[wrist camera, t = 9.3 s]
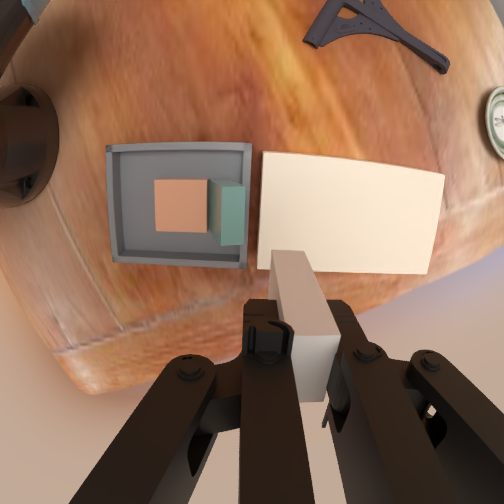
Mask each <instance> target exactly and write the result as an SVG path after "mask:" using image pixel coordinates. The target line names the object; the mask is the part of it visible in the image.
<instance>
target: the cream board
mask: <svg viewBox="0 0 504 504" xmlns="http://www.w3.org/2000/svg"><path fill="white" fill-rule="evenodd" d="M444 179H445V175H444V174H440V173H436V172H432V171H428V170H424V169H418V168H413V167H407V166H401V165H395V164H388V163H382V162H375V161H368V160H360V159H352V158H344V157H335V156H326V155H315V154H304V153H292V152H278V151H262V163H261V182H260V201H259V219H258V238H257V269H269V270H270V264H271V250H272V249H273V250H297V251H304V252H305V254H306V256H307V258H308V261H309V263H310V265H311V267H312V269H313V271H323V272H355V273H393V274H427V270H428V266H429V262H430V257H431V253H432V249H433V244H434V239H435V234H436V229H437V224H438V219H439V213H440V207H441V201H442V194H443V187H444Z"/></svg>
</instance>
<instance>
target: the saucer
mask: <svg viewBox="0 0 504 504" xmlns="http://www.w3.org/2000/svg"><path fill="white" fill-rule="evenodd" d="M485 121H486V128H487V133H488V137H489V140H490V142H491V144H492V146H493V148H494V150H495V151H496V153H497V154H498V155H499V156H500V157H501V158H502V159H503V160H504V86H500V87H497V88H495V89H494V90H493V91H492V92H491V94H490V95H489V97H488V100H487V104H486V111H485Z"/></svg>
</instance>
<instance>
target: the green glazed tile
mask: <svg viewBox="0 0 504 504" xmlns="http://www.w3.org/2000/svg"><path fill="white" fill-rule="evenodd" d="M245 191H246V186H244V185H242V184H240V183H238V182H235V181H233V180H231V179H209V216H208V230H209V231H210V232H211V234H212V235H213V236H214V238H215V239H216V240H217V242H218V243H219V244H220V246H229V245H242V244H244V218H245Z"/></svg>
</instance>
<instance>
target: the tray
mask: <svg viewBox="0 0 504 504" xmlns="http://www.w3.org/2000/svg"><path fill="white" fill-rule="evenodd" d="M251 156H252V143H240V142H154V143H132V144H116V145H106V183H107V203H108V218H109V230H110V241H111V250H112V259H113V262H120V263H137V264H155V265H173V266H193V267H213V268H235V269H246V266H247V243H248V220H249V198H250V177H251ZM159 177H210V179H231V180H233V181H235V182H238V183H240V184H242V185H244V186H246V191H245V218H244V244H242V245H229V246H220V244H219V243H218V242H217V240H216V239H215V238H214V236H213V235H212V234H211V232H210V231H209V230H208V231H207V233H200V232H169V231H156V221H155V190H154V180H155V179H157V178H159Z"/></svg>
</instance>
